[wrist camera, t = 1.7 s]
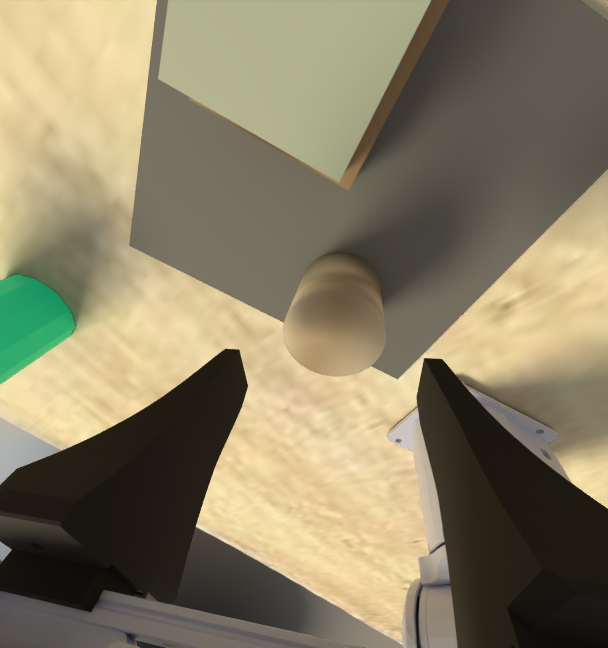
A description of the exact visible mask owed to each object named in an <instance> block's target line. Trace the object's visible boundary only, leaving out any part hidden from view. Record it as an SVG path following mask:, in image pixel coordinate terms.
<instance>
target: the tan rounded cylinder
mask: <svg viewBox="0 0 608 648" xmlns="http://www.w3.org/2000/svg"><path fill="white" fill-rule="evenodd" d="M283 338H284V342H285V345H286V347H287V349H288V351H289V353H290V354H291V355H292V357H293V358H294V359H295V360H296V361H297V362H299V363H300V364H301V365H302V366H304V367H305V368H307V369H309V370H311V371H313V372H316V373H319V374H322V375H327V376H348V375H353V374H356V373H359V372H361V371H363V370H365V369H367V368H369V367H370V366H371V365H373V364H374V363H375V362H376V361H377V360H378V358H379V357H380V356H381V354H382V352H383V350H384V347H385V343H386V330H385V321H384V313H383V304H382V296H381V287H380V281H379V278H378V275H377V273H376V271H375V270H374V268H373V267H372V266H371V265H370V264H369V263H368V262H367V261H366V260H364V259H363V258H361V257H359V256H357V255H354V254H351V253H345V252H335V253H330V254H326V255H323V256H321V257H319V258H318V259H316V260H315V261H314V262H313V263H311V264H310V266H309V267H308V268H307V269H306V271H305V273H304V275H303V277H302V280H301V282H300V285H299V287H298V289H297V292H296V294H295V297H294V299H293V301H292V304H291V306H290V309H289V311H288V313H287V316H286V318H285V321H284V325H283Z"/></svg>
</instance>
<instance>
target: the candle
mask: <svg viewBox="0 0 608 648" xmlns="http://www.w3.org/2000/svg"><path fill="white" fill-rule="evenodd" d="M74 328H75V323H74V319H73V316H72V313H71V310H70V309H69V307H68V306H67V305H66V304H65V302H64V301H63V300H62V299H61V297H60V296H59V295H58V294H57V293H56V292H55V291H53V290H52V289H50V288H49V287H47V286H46V285H44V284H43V283H42V282H40V281H39V280H37V279H33V278H30V277H26V276H23V275H19V274H17V275H14V276H11V277H8V278H6V279H3V280H1V281H0V384H2V383H3V382H5V381H6V380H7V379H9V378H10V377H12V376H13V375H15V374H16V373H18V372H19V371H20V370H22V369H23V368H25V367H26V366H28V365H29V364H31V363H32V362H33V361H35V360H36V359H38V358H39V357H41V356H42V355H44V354H45V353H46V352H48V351H49V350H51V349H52V348H54V347H55V346H57V345H58V344H59V343H61V342H62V341H64V340H65V339H67V338H68V337H70V336H71V334H72V332H73V330H74Z"/></svg>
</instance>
